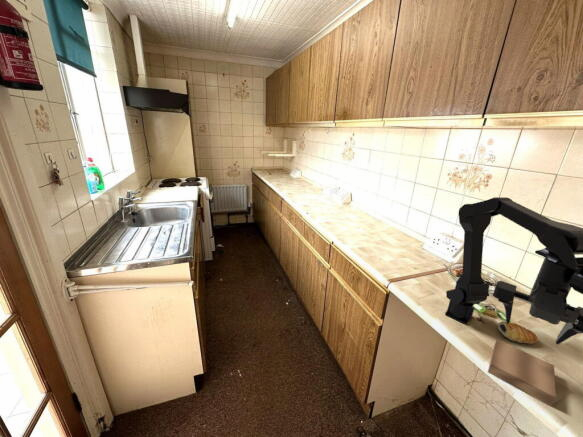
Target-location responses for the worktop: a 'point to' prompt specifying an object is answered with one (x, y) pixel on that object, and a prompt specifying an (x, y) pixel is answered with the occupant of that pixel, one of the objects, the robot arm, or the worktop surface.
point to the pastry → (517, 332)
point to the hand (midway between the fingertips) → (531, 332)
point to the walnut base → (523, 371)
